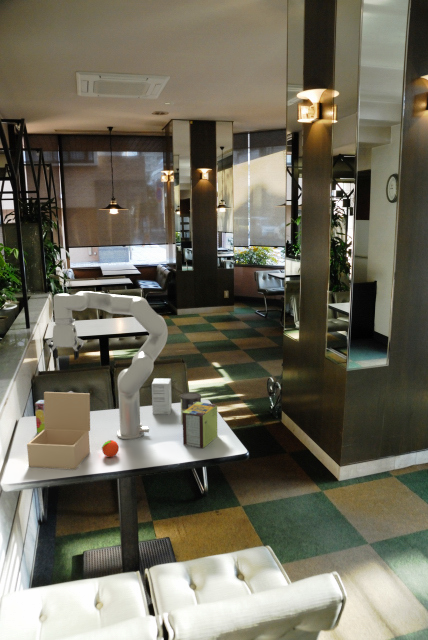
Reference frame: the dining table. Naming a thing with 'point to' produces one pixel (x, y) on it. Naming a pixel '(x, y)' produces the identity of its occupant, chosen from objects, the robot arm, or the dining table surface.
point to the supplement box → (161, 396)
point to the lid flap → (67, 411)
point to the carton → (58, 449)
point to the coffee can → (188, 401)
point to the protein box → (199, 424)
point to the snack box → (39, 415)
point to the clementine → (110, 448)
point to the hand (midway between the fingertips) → (66, 358)
